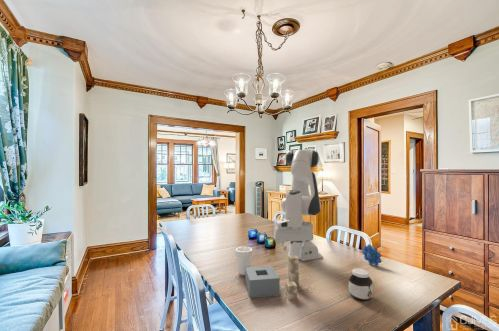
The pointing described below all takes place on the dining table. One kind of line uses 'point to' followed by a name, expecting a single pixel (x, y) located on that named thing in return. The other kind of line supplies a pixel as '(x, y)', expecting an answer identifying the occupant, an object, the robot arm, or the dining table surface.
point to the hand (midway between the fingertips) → (293, 249)
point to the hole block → (262, 281)
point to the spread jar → (360, 285)
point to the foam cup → (243, 258)
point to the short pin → (291, 290)
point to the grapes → (371, 255)
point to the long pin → (294, 269)
